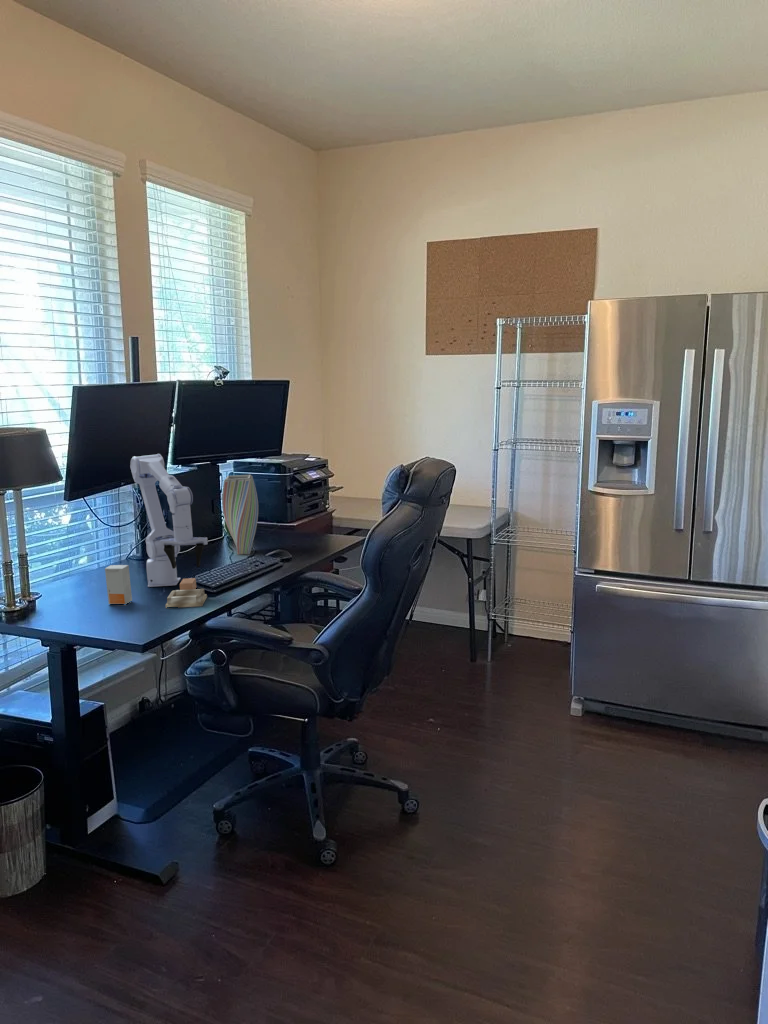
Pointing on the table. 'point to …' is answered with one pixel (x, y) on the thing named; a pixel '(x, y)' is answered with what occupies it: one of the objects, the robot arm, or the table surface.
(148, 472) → the robot arm
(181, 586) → the keyed block
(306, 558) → the table surface
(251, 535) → the vase
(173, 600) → the stand
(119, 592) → the skincare box
